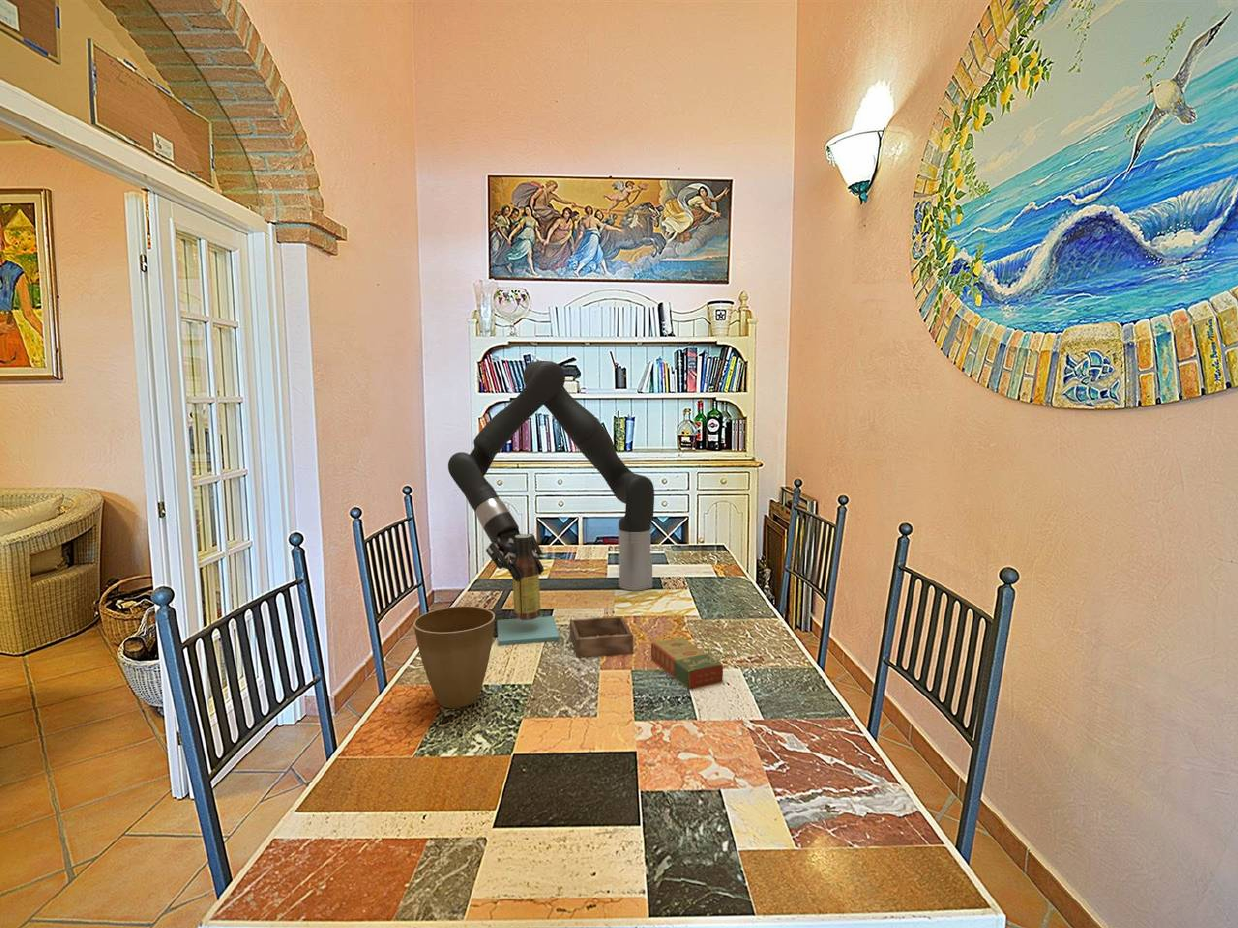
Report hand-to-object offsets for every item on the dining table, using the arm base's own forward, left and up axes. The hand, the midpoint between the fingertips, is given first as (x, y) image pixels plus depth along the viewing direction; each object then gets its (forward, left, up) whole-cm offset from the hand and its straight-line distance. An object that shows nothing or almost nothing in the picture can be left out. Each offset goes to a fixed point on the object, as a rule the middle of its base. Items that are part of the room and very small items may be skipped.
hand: (530, 575), depth 159 cm
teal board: (+1, -1, -14) cm, 14 cm away
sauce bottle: (+1, -1, -11) cm, 11 cm away
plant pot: (+16, +31, -14) cm, 38 cm away
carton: (-30, +27, -15) cm, 43 cm away
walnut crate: (-15, +10, -14) cm, 23 cm away
